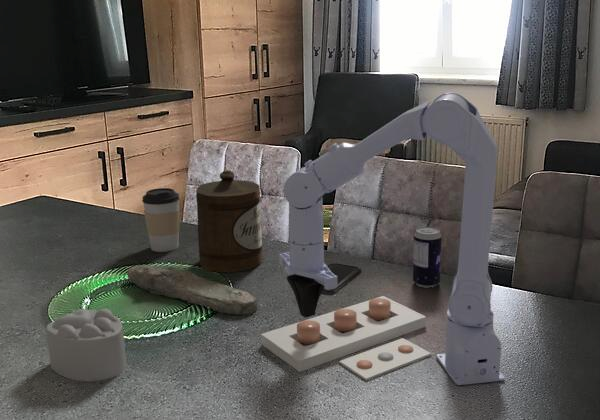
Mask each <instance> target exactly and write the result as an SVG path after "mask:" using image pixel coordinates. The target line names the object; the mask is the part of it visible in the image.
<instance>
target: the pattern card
mask: <svg viewBox="0 0 600 420" xmlns="http://www.w3.org/2000/svg"><path fill="white" fill-rule="evenodd" d="M431 355H432V353H431V352H429V351H427V350H425V349H424V348H422V347H420V346H418V345H416V344H414V343H413V342H411V341H409V340H407V339H405V338H403V337H402V338H399V339H397V340H394V341H391V342H388V343H385V344H382V345H380V346H376V347H374V348H372V349H368V350H365V351H363V352H361V353H360V352H359V353H358V354H355V355H352V356H349V357H346V358H343V359H341V360H339V362H338V363H339V364H340V365H341V366H343V367H345V368H346V369H348V370H349V371H350V372H352V373H354V374H355V375H357V376H358V377H360V378H362V379H363V380H364V381H366V382H367V381H369V380H372V379H375V378H377V377H379V376H383V375H385V374H388V373H390V372H393V371H395V370H397V369H400V368H403V367H405V366H407V365H410V364H412V363H416V362H418V361H421V360H423V359H425V358H428V357H431Z"/></svg>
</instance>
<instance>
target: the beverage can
mask: <svg viewBox="0 0 600 420" xmlns="http://www.w3.org/2000/svg"><path fill="white" fill-rule="evenodd" d="M440 232H441V231H440V229H439V228H437V227H432V226H424V227H418V228H416V230H415V233H414V234H413V254H412V255H413V257H412V260H413V261H412V281H413V283H415V284H416V286H417V287H419V288H422V287H423V289H432V288H435V287H436V286H437V285H438V284H439V283H440V281H441V267H442V265H441V261H442V235H441V233H440ZM434 286H435V287H434ZM429 287H430V288H429ZM431 287H432V288H431Z"/></svg>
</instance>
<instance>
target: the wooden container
mask: <svg viewBox="0 0 600 420" xmlns="http://www.w3.org/2000/svg"><path fill="white" fill-rule="evenodd" d="M219 178H220V179H221V180H216V181H210V182H206V183H203V184H201V185H199V186H197V187H196V192H195V193H196V194H195V195H196V197H195V198H196V208H197V209H196V211H197V212H196V214H197V238H198V239H197V241H198V254H199V255H198V256H199V265H200V266H201V267H202V268H203V269H205V270H208V271H210V270H211V272H216V273H238V272H243V271H248V270H251V269H254V268H255V267H259V265H261V264H262V263H263V262H262V261H263V229H262V228H263V227H262V216H261V215H262V214H261V213H262V211H261V201H260V200H261V190H260V189H261V188H260V185H259V184H258V183H257V182H256V183H255V182H253V181H248V180H236V179H234V178H235V173H234V172H233V171H231V170H223V171H222V172H221V173H220V174H219Z"/></svg>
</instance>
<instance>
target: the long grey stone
mask: <svg viewBox="0 0 600 420" xmlns="http://www.w3.org/2000/svg"><path fill="white" fill-rule="evenodd" d="M126 273H127V274H126V275H127V277H128V280H129V282H130V284H135V285H136V286H137V287H139V288H141V289H142V290H145V291H149V292H150V294H154V295H158V296H161V295H162V296H165V297H168V298H172V299H180V300H183V301H187V303H188V304H193V305H195V304H196V305H199V306H202V307H204V306H205V307H204V308H206V307H209V308H212V309H214V310H213V311H215V310H216V312H218V313H222V314H223V313H227V315H230V314H231V315H232V314H233V315H240V316H245V315H250V314H253V313H255V312H256V311H257V310H258V301H257V299H256V298H255V296H253V295H252V294H250V292H248V291H245V290H242V289H237V288H235V287H233V286H230V285H227V284H223V283H220V282H216V281H211V280H209V279H207V278H204V277H202V276H200V275H199V276H198V275H197V274H196V273H194V272H192V270H185V269H180V268H175V267H173V266H170V267H166V266H160V265H158V266H157V265H147V264H141V265H136V266H132V267H130V268H129V269H128V270H127V272H126ZM209 308H208V309H209ZM212 309H211V310H212Z"/></svg>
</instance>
